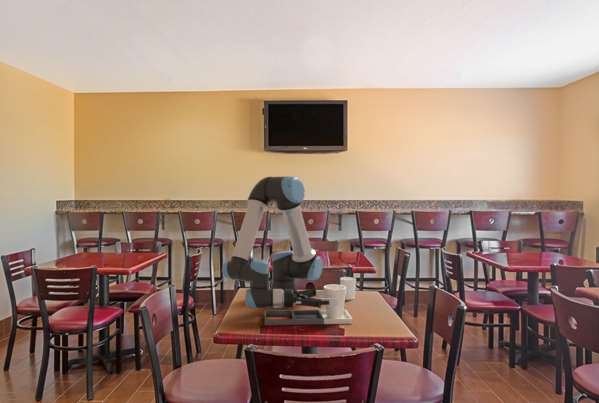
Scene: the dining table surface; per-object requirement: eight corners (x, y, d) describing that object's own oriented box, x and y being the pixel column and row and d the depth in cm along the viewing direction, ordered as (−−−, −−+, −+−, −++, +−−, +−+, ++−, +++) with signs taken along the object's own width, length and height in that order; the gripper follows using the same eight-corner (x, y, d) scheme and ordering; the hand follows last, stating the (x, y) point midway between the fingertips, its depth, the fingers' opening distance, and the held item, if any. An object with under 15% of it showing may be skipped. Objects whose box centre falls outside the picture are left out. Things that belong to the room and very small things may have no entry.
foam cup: (345, 315, 171) (346, 284, 171) (346, 321, 162) (346, 290, 162) (323, 314, 172) (324, 284, 172) (322, 320, 163) (323, 289, 163)
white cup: (337, 299, 199) (337, 279, 199) (343, 295, 206) (343, 276, 206) (352, 301, 195) (352, 280, 195) (357, 297, 202) (358, 278, 202)
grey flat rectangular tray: (264, 325, 158) (264, 320, 158) (264, 315, 171) (264, 310, 171) (352, 323, 161) (352, 318, 161) (345, 313, 174) (345, 309, 174)
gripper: (281, 299, 177) (328, 298, 179) (284, 316, 152) (339, 315, 154) (281, 282, 177) (328, 282, 179) (285, 296, 152) (339, 296, 154)
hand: (333, 297), depth 167 cm, fingers open, 13 cm apart
